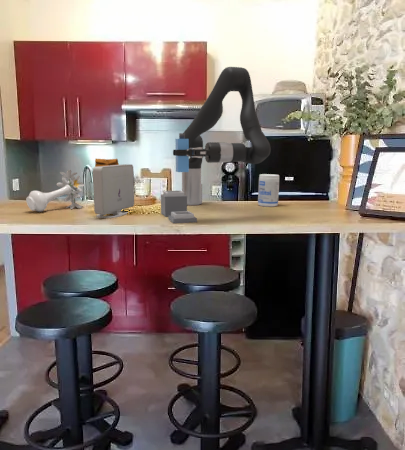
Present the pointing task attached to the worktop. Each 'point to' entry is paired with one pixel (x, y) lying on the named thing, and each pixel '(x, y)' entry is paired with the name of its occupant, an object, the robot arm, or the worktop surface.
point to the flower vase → (57, 193)
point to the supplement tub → (268, 190)
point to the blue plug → (182, 161)
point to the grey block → (173, 202)
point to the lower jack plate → (182, 217)
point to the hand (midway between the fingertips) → (174, 152)
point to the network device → (113, 189)
